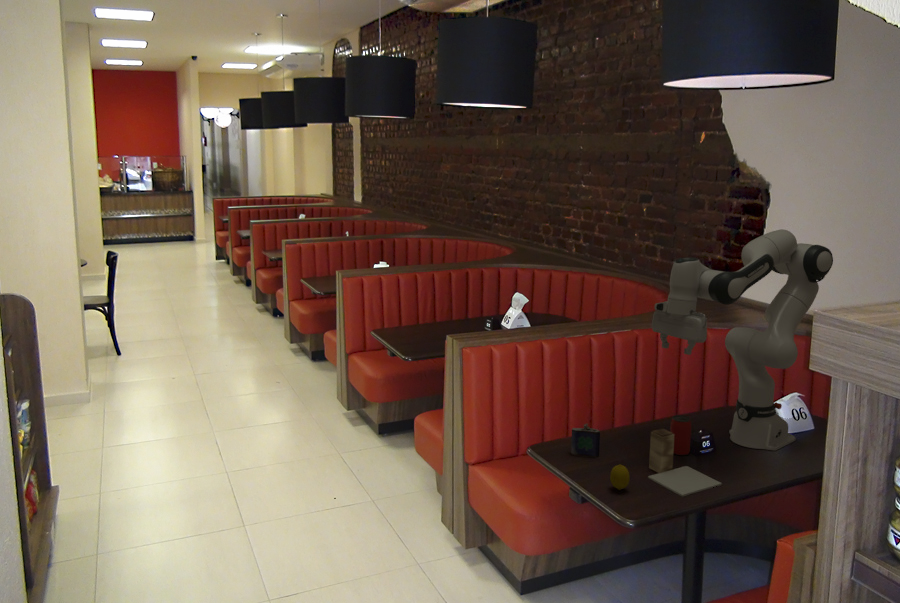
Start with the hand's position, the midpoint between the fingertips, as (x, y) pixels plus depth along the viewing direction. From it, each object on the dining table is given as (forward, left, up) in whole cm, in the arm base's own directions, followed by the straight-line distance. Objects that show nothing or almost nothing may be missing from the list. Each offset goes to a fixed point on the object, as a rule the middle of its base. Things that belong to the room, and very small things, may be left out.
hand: (676, 351), depth 227 cm
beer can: (-5, 0, -36) cm, 36 cm away
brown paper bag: (+10, +7, -36) cm, 38 cm away
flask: (+24, -13, -36) cm, 45 cm away
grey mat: (+10, +17, -36) cm, 41 cm away
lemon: (+31, +12, -36) cm, 49 cm away
